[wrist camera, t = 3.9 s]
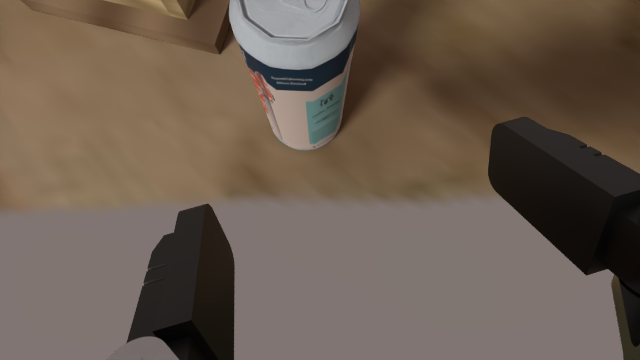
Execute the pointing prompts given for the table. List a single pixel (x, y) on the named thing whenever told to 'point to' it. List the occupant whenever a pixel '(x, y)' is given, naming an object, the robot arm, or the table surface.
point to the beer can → (299, 63)
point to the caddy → (151, 18)
